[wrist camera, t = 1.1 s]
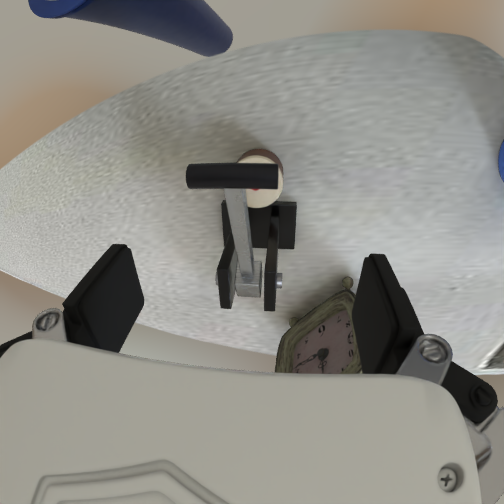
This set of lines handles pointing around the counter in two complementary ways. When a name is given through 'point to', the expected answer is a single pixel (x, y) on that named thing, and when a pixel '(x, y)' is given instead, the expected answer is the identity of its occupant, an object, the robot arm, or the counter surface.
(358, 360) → the tabletop clock
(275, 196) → the cake
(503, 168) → the blue bottle
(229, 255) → the black upright frame
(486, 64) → the counter surface
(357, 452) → the robot arm
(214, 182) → the lever
